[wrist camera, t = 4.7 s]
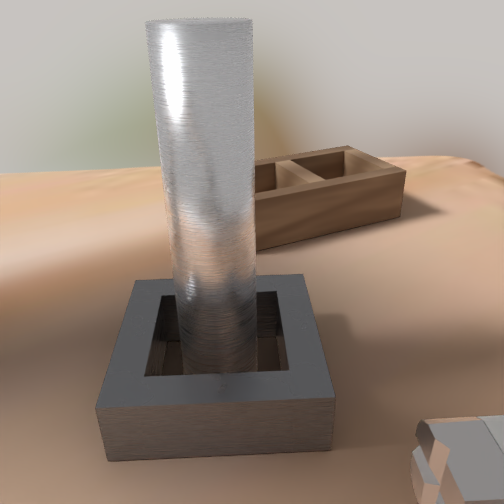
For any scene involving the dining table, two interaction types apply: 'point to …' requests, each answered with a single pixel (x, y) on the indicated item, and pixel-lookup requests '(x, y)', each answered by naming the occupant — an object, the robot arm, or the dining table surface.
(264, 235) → the tool rack
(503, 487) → the robot arm
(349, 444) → the dining table surface
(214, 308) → the rod
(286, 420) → the socket block
